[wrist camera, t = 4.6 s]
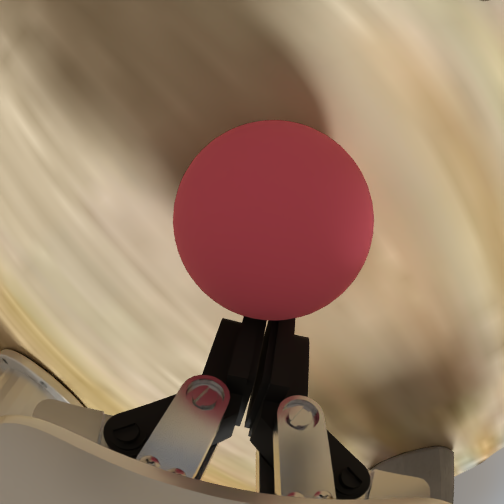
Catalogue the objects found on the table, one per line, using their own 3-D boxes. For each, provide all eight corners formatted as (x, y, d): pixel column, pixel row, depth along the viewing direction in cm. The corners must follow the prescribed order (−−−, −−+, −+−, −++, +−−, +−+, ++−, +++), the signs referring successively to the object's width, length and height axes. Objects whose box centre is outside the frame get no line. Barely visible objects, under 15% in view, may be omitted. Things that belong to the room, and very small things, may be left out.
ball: (150, 334, 8) (129, 143, 5) (200, 225, 12) (212, 90, 9) (338, 372, 8) (441, 211, 5) (331, 253, 12) (376, 126, 9)
